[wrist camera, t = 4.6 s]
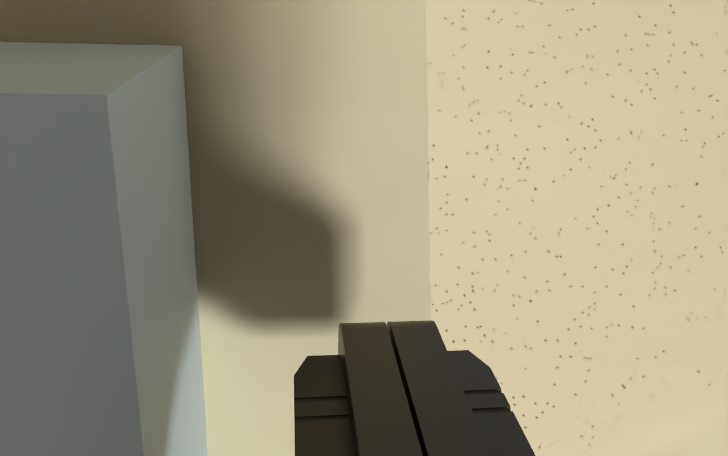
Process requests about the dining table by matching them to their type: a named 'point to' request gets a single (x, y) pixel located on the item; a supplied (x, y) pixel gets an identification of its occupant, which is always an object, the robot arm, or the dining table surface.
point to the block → (97, 254)
